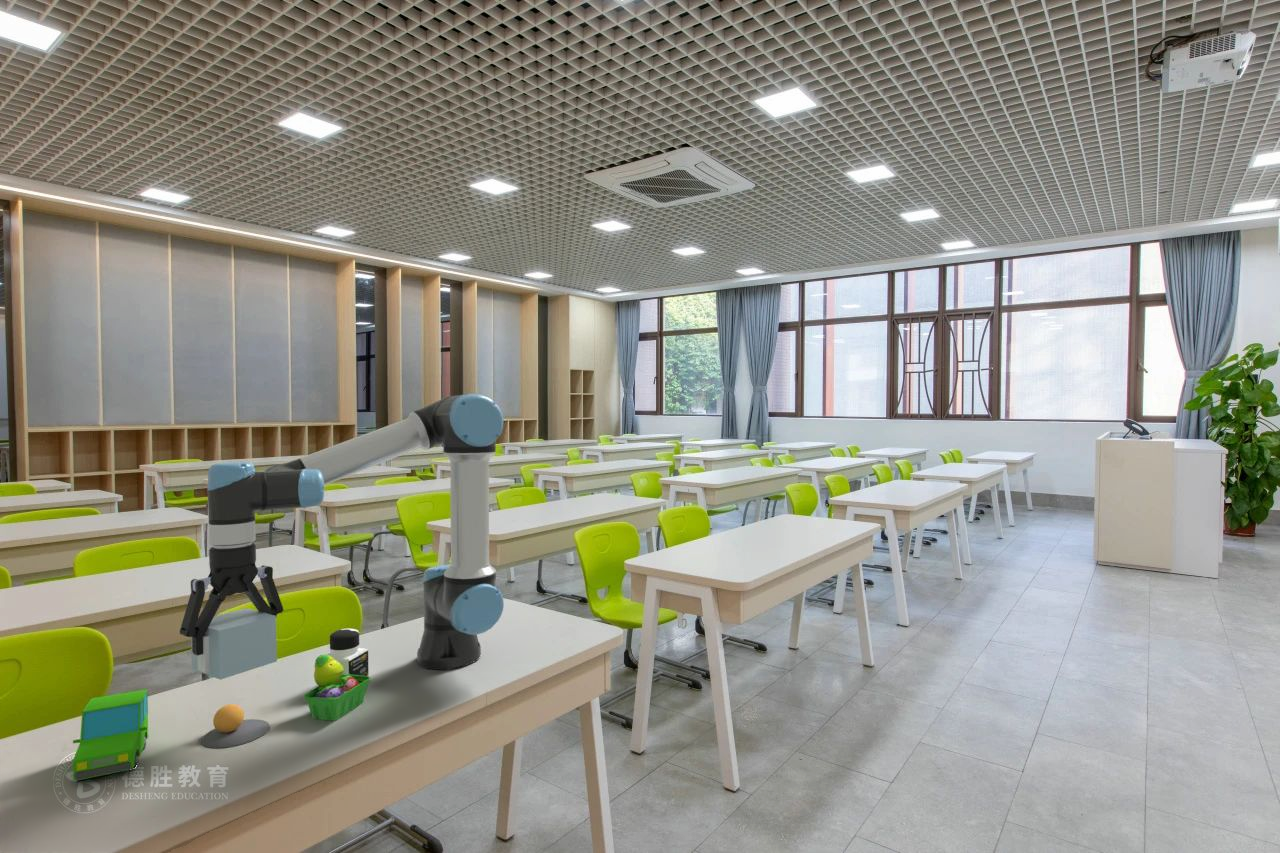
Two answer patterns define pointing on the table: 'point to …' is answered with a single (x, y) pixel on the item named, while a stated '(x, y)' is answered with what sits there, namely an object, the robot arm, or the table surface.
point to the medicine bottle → (349, 652)
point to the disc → (236, 734)
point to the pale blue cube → (239, 642)
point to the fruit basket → (334, 690)
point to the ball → (228, 718)
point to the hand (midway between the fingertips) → (235, 661)
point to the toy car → (111, 734)
